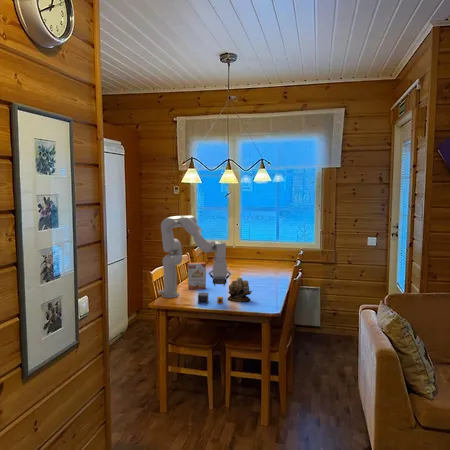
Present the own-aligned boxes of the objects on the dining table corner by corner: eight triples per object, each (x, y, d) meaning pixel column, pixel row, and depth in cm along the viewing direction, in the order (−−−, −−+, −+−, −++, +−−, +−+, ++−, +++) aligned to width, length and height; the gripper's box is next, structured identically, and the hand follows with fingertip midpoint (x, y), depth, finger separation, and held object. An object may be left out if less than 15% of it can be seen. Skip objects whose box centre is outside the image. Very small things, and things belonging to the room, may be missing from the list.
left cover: (197, 303, 289) (197, 295, 288) (198, 300, 296) (198, 292, 295) (207, 303, 289) (207, 295, 288) (208, 301, 296) (208, 292, 295)
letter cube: (217, 303, 290) (217, 298, 289) (217, 302, 294) (217, 296, 293) (222, 303, 290) (222, 298, 289) (222, 302, 294) (223, 296, 293)
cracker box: (188, 289, 327) (188, 263, 325) (187, 287, 333) (187, 262, 331) (206, 289, 330) (206, 263, 328) (205, 287, 336) (205, 261, 334)
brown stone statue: (253, 299, 302) (253, 276, 300) (250, 303, 291) (250, 280, 289) (229, 296, 307) (229, 274, 305) (225, 301, 296) (225, 278, 294)
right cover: (214, 286, 288) (214, 278, 287) (214, 283, 295) (215, 275, 294) (224, 286, 288) (224, 278, 287) (224, 284, 295) (224, 276, 294)
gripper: (207, 260, 286) (207, 285, 287) (232, 261, 285) (231, 286, 287) (208, 258, 293) (207, 282, 295) (232, 259, 293) (231, 283, 295)
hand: (219, 284), depth 291 cm, fingers closed on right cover, 7 cm apart
